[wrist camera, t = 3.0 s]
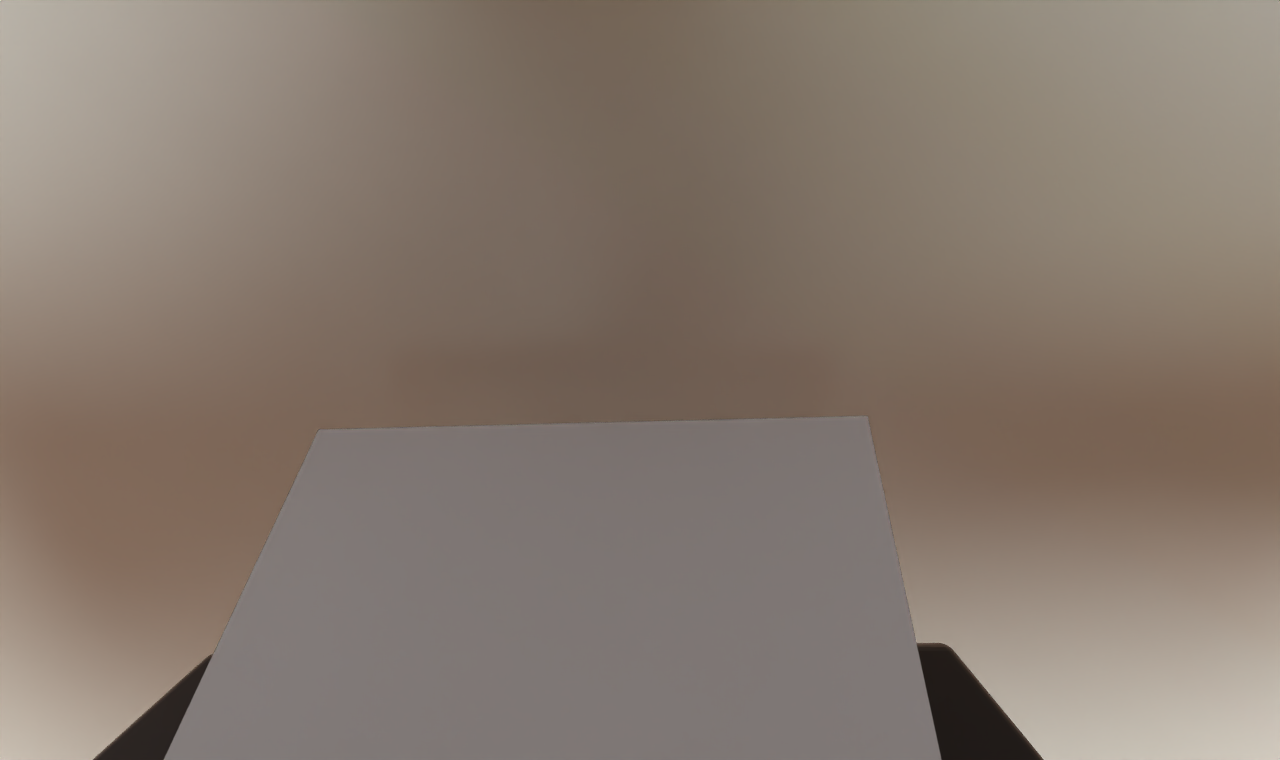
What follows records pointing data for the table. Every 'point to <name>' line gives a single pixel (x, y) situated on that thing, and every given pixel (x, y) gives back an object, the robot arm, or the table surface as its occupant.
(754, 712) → the slate domino
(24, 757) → the table surface
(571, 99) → the table surface
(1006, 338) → the table surface
